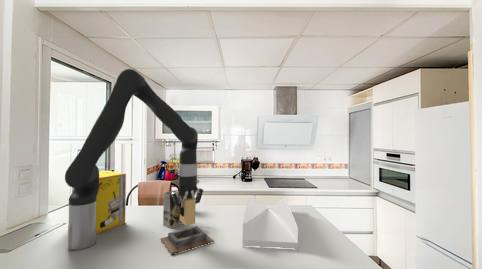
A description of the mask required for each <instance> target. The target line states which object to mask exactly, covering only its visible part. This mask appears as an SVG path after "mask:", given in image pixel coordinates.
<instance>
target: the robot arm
mask: <svg viewBox="0 0 482 269" xmlns="http://www.w3.org/2000/svg"><path fill="white" fill-rule="evenodd" d="M133 96H134V97H136V98H137V99H139V100H140V101H141V102H143V103H144V104H145V105H146V106H147V107H148V108H149V109H150V111H151V112H152V113H153V114H154V116H156V117H157V119H158V120H159V121H160V122H161V123H162V124H164V125H165V127H167V128H168V129H169V130H170V131H171V132H172V133H173V135H174V136H175V138H177V140H179V141H180V142H181V149H180V152H179V166H178V189H177V190H178V191H176V192H172V193H171V195H172V198H173V201H174V203H175V205H176V206H177V207H179V213H180V215H181V216H184V202H185V200H186V199H187V198H192V199H195V206H196V205H197V204H199V203H200V202H201V199H202V197H203V196H202V195H203V193H204V189H203V188H199V187H198V186H197V185H198V166H197V165H198V164H197V159H198V158H197V156H198V155H197V148H198V143H199V142H198V139H199V134H198V132H197V129H196V128H194V127H191V126H190V125H188V123H186V122H185V121H184V120H183V118H182V116H181V115H180V114H179V113H177V111H176V110H175V109H173V108H172V107H171V106H170V105H169V104H168V103H167V102H166V101H165V100H163V99H162V98H161V97H160V96H158V94H157V92H155V91H154V90H153V89H152V87H151V86H150V84H149V83H148V82H147V80H146V79H145V78H144V76H143V75H141V74H140V73H139V72H138V71H137V70H135V69H131V68H126V69H124V70H123V71H121V72H120V73H119V74H118V76H117V78H116V80H115V82H114V86H113V88H112V90H111V92H110V94H109V97H108V99H107V101H106V102H105V105H104V106H103V108H102V110H101V112H100V113H99V115H98V117H97V119H96V121H95V122H94V124H93V126H92V128H91V130H90V132H89V134H88V136H87V137H86V139H85V141H84V143H83V145H82V147H81V149H80V151H79V152H78V153H77V155H76V156H75V158H74V159H73V160H72V162H71V164H70V165H69V166H68V167H67V169H66V171H65V174H64V181H65V183H66V184H67V186H68V187H70V188H72V187H73V188H74V190H73V193H72V192H71V194H70V196H69V197H68V224H67V225H68V226H67V227H68V228H67V235H68V236H67V251H79V250H84V249H87V248H89V247H92V246H93V245H95V244H96V243H97V234H96V198H97V194H98V191H99V172H100V170H99V168H98V166H97V163H98V161H99V159H100V158H101V156H102V155H103V154H104V153H105V152H106V151H107V150H108V149H109V148H110V147H111V145H113V143H114V141H116V138H118V135H119V133H120V132H121V130H122V128H123V127H124V126H123V125H124V122H125V116H126V109H127V107H128V104H129V102H130V100H131V98H132V97H133ZM178 193H179V194H180V195H181V197H180V202H179V201H178V198H177V197H178ZM195 194H196V195H195Z"/></svg>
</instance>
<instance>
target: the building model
mask: <svg viewBox="0 0 482 269" xmlns="http://www.w3.org/2000/svg"><path fill="white" fill-rule="evenodd" d="M246 200H247V201H246V204H245V205H246V206H245V211H244V217H243V218H244V219H243V223H242V247H243V246H260V247H280V248H281V247H282V248H294V249H298V248H299V245H298V244H299V240H298V239H299V227H298V225H297V222H296V219H295V217H294V215H293V212H292V210H291V208H290V205H289V202H288V200H287V198H286V196H284V197H282V198H281V199H278V201H277V202H274V204H272V205H265V204H263V203H261V202H260V201H259V200H257V199H256V198H254V197H252V196H251V195H249V194H248V195H247V199H246ZM298 250H299V249H298Z"/></svg>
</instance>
